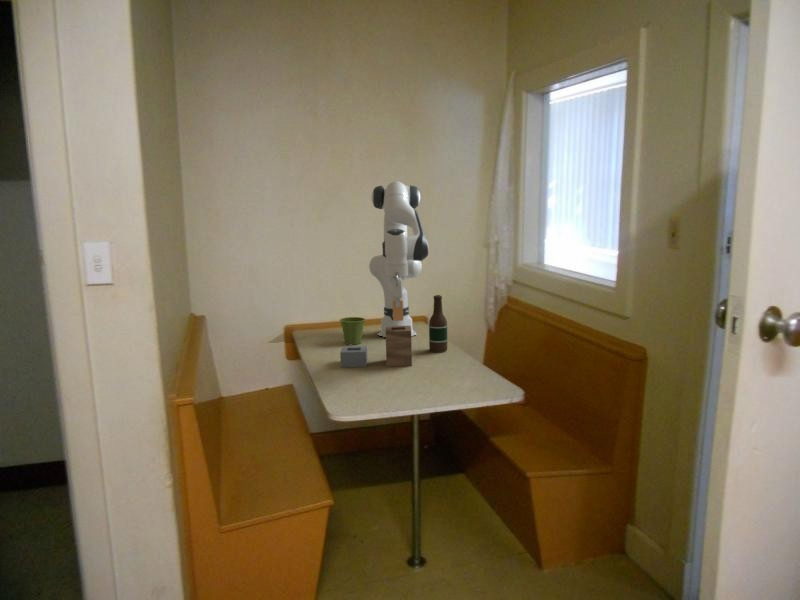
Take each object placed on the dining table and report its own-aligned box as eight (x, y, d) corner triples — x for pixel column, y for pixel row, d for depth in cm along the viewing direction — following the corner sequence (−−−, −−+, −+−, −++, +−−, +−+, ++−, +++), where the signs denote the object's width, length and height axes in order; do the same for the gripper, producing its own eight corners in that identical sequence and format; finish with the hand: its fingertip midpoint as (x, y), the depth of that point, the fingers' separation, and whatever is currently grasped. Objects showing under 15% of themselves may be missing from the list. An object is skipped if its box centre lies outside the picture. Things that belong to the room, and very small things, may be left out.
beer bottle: (438, 353, 253) (437, 297, 249) (425, 350, 259) (424, 295, 255) (451, 350, 258) (450, 295, 254) (438, 347, 264) (438, 293, 260)
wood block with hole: (387, 359, 245) (386, 326, 243) (411, 358, 245) (410, 325, 243) (386, 366, 235) (385, 331, 233) (411, 365, 235) (411, 330, 233)
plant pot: (363, 346, 268) (362, 322, 266) (337, 346, 270) (336, 321, 268) (368, 340, 280) (368, 316, 278) (344, 340, 282) (343, 316, 280)
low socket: (343, 360, 245) (342, 346, 244) (367, 360, 245) (367, 345, 244) (340, 367, 236) (340, 352, 235) (366, 366, 236) (365, 351, 235)
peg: (393, 319, 239) (392, 299, 238) (403, 318, 239) (402, 299, 238) (393, 320, 236) (392, 300, 235) (403, 320, 236) (402, 300, 235)
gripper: (405, 274, 224) (406, 310, 226) (404, 267, 244) (405, 301, 247) (388, 275, 224) (389, 311, 226) (389, 268, 244) (390, 301, 247)
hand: (397, 305), depth 237 cm, fingers closed on peg, 3 cm apart
